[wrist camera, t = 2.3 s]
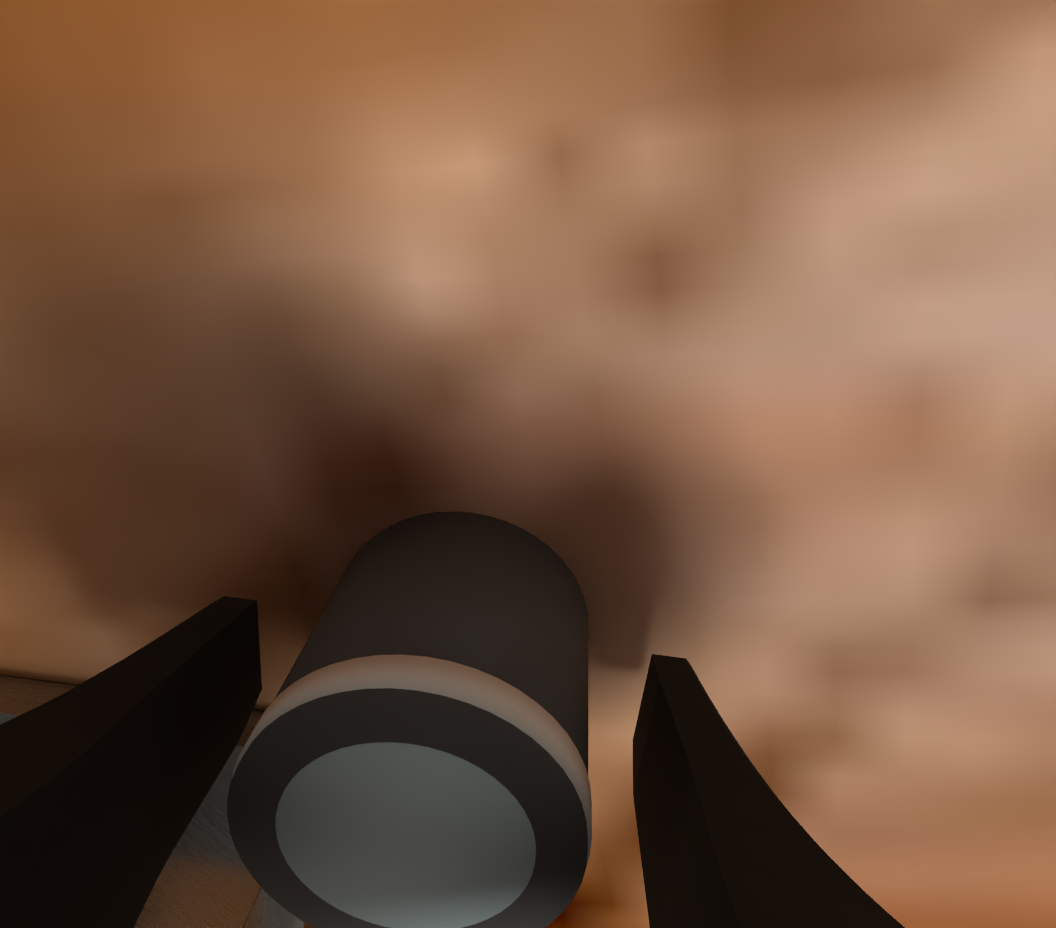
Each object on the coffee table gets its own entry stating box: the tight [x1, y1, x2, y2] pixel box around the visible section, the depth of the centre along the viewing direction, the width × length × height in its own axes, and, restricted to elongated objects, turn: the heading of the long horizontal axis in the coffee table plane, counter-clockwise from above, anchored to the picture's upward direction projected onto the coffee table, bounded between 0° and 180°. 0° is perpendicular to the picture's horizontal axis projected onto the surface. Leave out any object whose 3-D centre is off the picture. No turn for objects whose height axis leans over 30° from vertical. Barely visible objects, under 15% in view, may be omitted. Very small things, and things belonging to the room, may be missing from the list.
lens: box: [227, 512, 592, 928], centre depth 12 cm, size 5×5×5 cm
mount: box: [0, 675, 314, 928], centre depth 16 cm, size 10×10×4 cm
